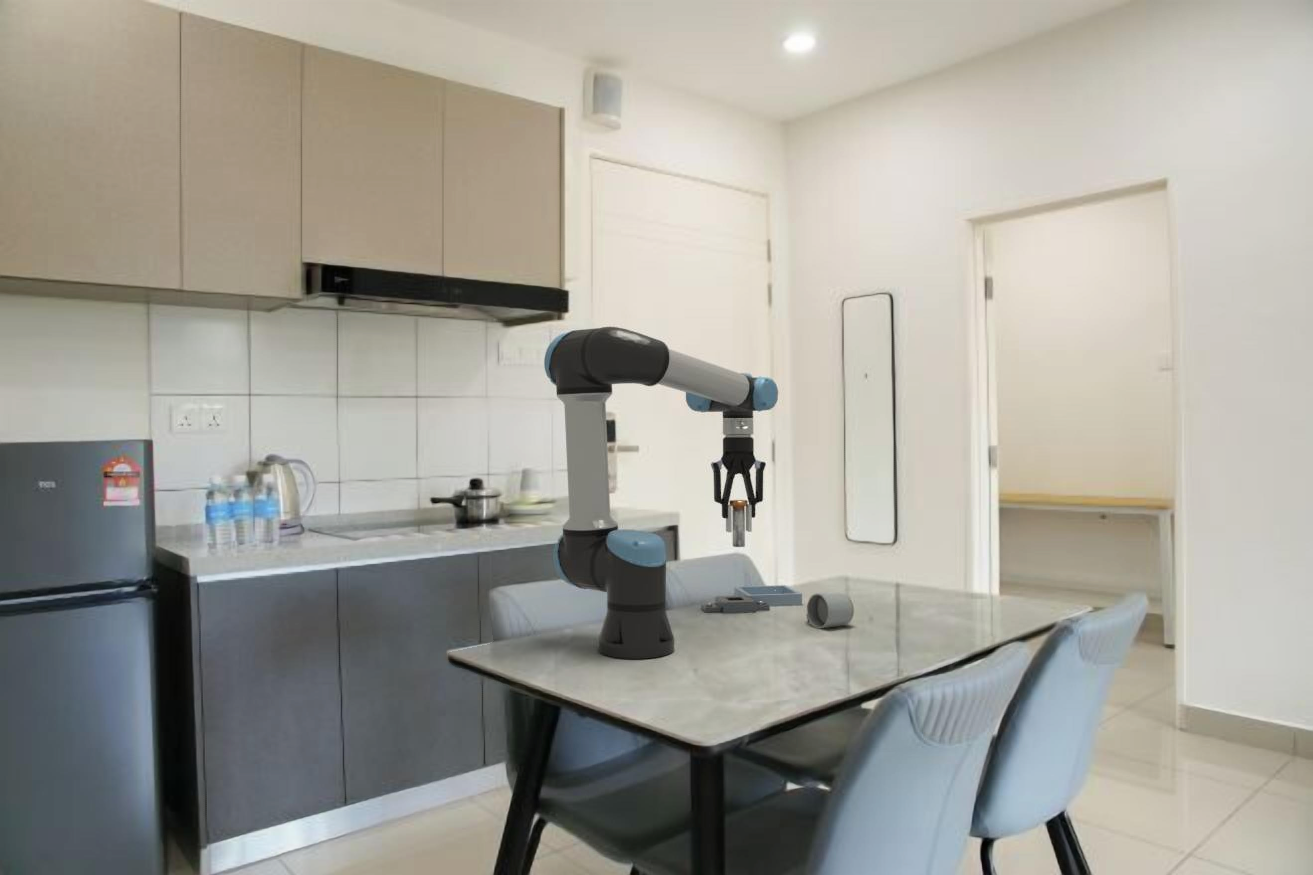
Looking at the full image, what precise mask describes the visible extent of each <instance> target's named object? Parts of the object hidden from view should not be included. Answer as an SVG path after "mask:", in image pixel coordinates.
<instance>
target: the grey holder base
mask: <svg viewBox="0 0 1313 875" xmlns="http://www.w3.org/2000/svg"><path fill="white" fill-rule="evenodd" d="M714 601H715V602H714V603H712V602H706V603H700V610H702V611H703V613H723V614H741V613H742V614H743V613H745V614H747V613H756V612H758V611H759V612H763V611H764V612H765V611H770V607H771V606H770V605H768V604H767V603H765V602H764V601H757V602H755V601H754V600H753V599H751V598H749V597H748V596H746V595H745V596H734V595H725V596H724V595H719V596H715V598H714Z"/></svg>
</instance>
